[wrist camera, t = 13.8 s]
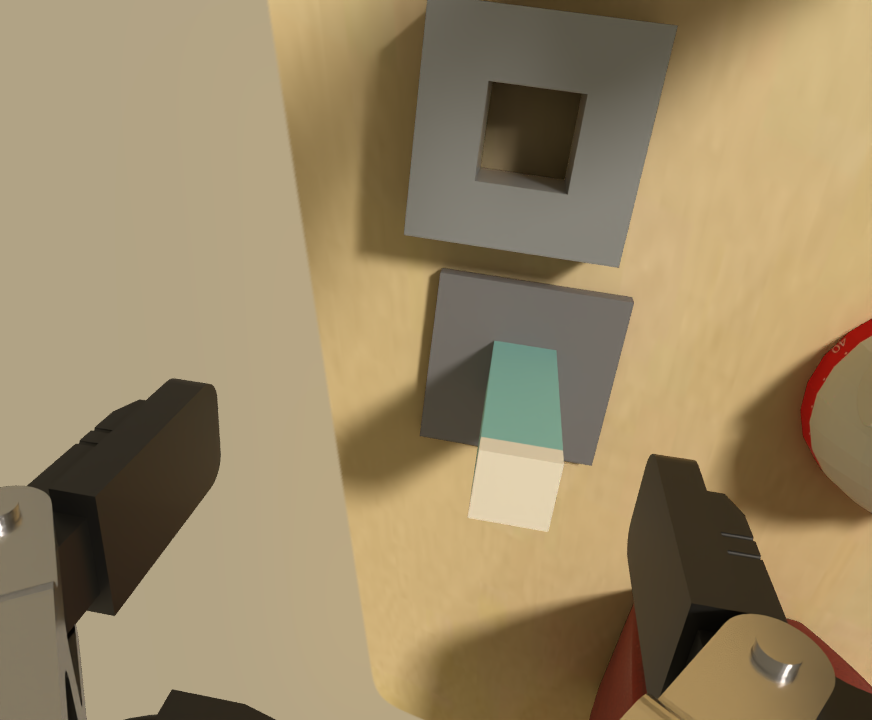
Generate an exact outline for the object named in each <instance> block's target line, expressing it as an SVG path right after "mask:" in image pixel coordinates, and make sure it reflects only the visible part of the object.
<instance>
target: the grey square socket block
mask: <svg viewBox="0 0 872 720" xmlns="http://www.w3.org/2000/svg"><path fill="white" fill-rule="evenodd" d="M676 31H677V25H669V24H661V23H653V22H645V21H637V20H629V19H622V18H614V17H606V16H598V15H590V14H582V13H574V12H567V11H559V10H551V9H543V8H535V7H527V6H520V5H512V4H504V3H496V2H488V1H480V0H427V8H426V18H425V28H424V38H423V48H422V58H421V68H420V78H419V88H418V98H417V108H416V118H415V128H414V138H413V148H412V158H411V168H410V178H409V188H408V198H407V208H406V218H405V229H404V235H407V236H414V237H420V238H427V239H434V240H440V241H447V242H453V243H460V244H466V245H473V246H479V247H486V248H493V249H499V250H506V251H512V252H519V253H525V254H532V255H538V256H545V257H552V258H558V259H565V260H571V261H578V262H584V263H591V264H598V265H604V266H611V267H617V268H619V265H620V261H621V257H622V252H623V248H624V244H625V240H626V236H627V232H628V228H629V224H630V220H631V215H632V211H633V207H634V203H635V199H636V195H637V191H638V187H639V183H640V178H641V174H642V170H643V166H644V162H645V158H646V154H647V150H648V146H649V142H650V137H651V133H652V129H653V125H654V121H655V117H656V113H657V109H658V105H659V100H660V96H661V92H662V88H663V84H664V80H665V76H666V72H667V68H668V63H669V59H670V55H671V51H672V47H673V43H674V39H675V35H676ZM493 82H501V83H508V84H516V85H523V86H530V87H538V88H545V89H553V90H560V91H567V92H575V93H582V94H581V99H580V104H579V109H578V114H577V119H576V124H575V129H574V134H573V139H572V144H571V150H570V155H569V160H568V165H567V170H566V175H565V180H564V179H558V178H551V177H544V176H537V175H530V174H523V173H516V172H509V171H502V170H495V169H488V168H481V161H482V154H483V147H484V140H485V133H486V126H487V119H488V112H489V105H490V98H491V91H492V84H493Z"/></svg>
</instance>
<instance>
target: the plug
mask: <svg viewBox="0 0 872 720" xmlns="http://www.w3.org/2000/svg"><path fill="white" fill-rule="evenodd" d="M563 466H564V457H563V442H562V427H561V412H560V397H559V382H558V367H557V352H556V350H551V349H545V348H538V347H532V346H526V345H519V344H513V343H507V342H500V341H494V346H493V352H492V358H491V364H490V370H489V376H488V382H487V388H486V395H485V401H484V408H483V415H482V422H481V429H480V436H479V443H478V450H477V457H476V464H475V471H474V477H473V484H472V491H471V498H470V505H469V512H468V518H472V519H478V520H483V521H489V522H495V523H500V524H506V525H512V526H517V527H523V528H528V529H534V530H540V531H545V532H548V531H549V526H550V522H551V518H552V514H553V509H554V505H555V501H556V496H557V492H558V488H559V483H560V479H561V475H562V471H563Z"/></svg>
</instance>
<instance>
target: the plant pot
mask: <svg viewBox="0 0 872 720" xmlns="http://www.w3.org/2000/svg"><path fill="white" fill-rule="evenodd" d="M786 620H787V622H788V624H789V625H791V626H793V627H795V628H797V629H798V630H800V631H801V632H803V633H804V634H805V635H807V636H808V637H809V638H810V639H812V640H813V641H814V642H815V643H816V644H817V645H818V646H819V647H820V648H821V649H822V651H823V652H824V653H825V654H826V656H827V657H828V659H829V661H830V662H831V664H832V667H833V670H834V673H835V676H836V677H837V678H839V679H841V680H843V681H844V682H846V683H848V684H850V685H853V686H855V687H857V688H859V689H861V690H864V691H866V692H869V693H871V694H872V686H871V685H870V684H869V683H868V682H867V681H866V680H865V679H864V678H863V677H862V676H861V675H860V674H859V673H858V672H857V671H855V670H854V669H853V668H852V667H851V666H850V665H849V664H848V663H847V662H846V661H845V660H844V659H843V658H841V657H840V656H839V655H838V654H837V653H836V652H835V651H834V650H832V649H831V648H830V647H829V646H828V645H827V644H826V643H825V642H824V641H822V640H821V639H820V638H819V637H818V636H816V635H815V634H814V633H813V632H812V631H810V630H809V629H808V628H807V627H806V626H804V625H803V624H802V623H800V622H797V621H794V620H790V619H786ZM645 694H647V690H646V683H645V676H644V669H643V662H642V655H641V648H640V641H639V634H638V627H637V620H636V613H635V607H634V604H633V606H632V609H631V611H630V614H629V616H628V618H627V621H626V623H625V625H624V628H623V630H622V633H621V635H620V638H619V640H618V643H617V645H616V647H615V650H614V652H613V655H612V657H611V660H610V662H609V664H608V667H607V669H606V672H605V674H604V677H603V679H602V682H601V684H600V686H599V689H598V692H597V695H596V698H595V702H594V705H593V708H592V712H591V715H590V719H589V720H620V719H621V718H622V717H623V716H624V714H625V713H626V712H627V711H628V710H629V709H630V708H631V707H632V706H633V705H634V704H635V703H636V702H637V701H638V700H639V699H640V698H641V697H642V696H643V695H645Z"/></svg>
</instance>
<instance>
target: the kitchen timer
mask: <svg viewBox="0 0 872 720" xmlns="http://www.w3.org/2000/svg"><path fill="white" fill-rule="evenodd" d="M801 420H802V431H803V437H804V439H805V441H806V443H807V445H808V447H809V449H810V451H811V453H812V455H813V457H814V459H815V460H816V462H817V463H818V465H819V466H820V468H821V469H822V471H823V472H824V473H825V474H826V475H827V476H828V478H829V479H831V480H832V481H833V482H834V483H835V484H836V485H837V486H838V487H839V488H840V489H841V490H842V491H843V492H844V493H845V494H846V495H848V496H849V497H850V498H851V499H852V500H853V501H854V502H856V503H857V504H858V505H860V506H861V507H863V508H864V509H866V510H867V511H869V512H871V513H872V319H871V320H869V321H867V322H865V323H864V324H862V325H860V326H859V327H857V328H855V329H854V330H852V331H850V332H849V333H848V334H847V335H845V336H844V337H843V338H842V339H841V340H840V341H839V342H838V343H837V344H836V345H835V346H834V347H833V348H832V349H831V350H830V351H829V352H828V353H827V354H825V355H824V357H823V358H822V360H821V362H820V363H819V365H818V366H817V368H816V370H815V371H814V373H813V375H812V376H811V378H810V379H809V381H808V383H807V387H806V391H805V394H804V398H803V402H802V406H801Z"/></svg>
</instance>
